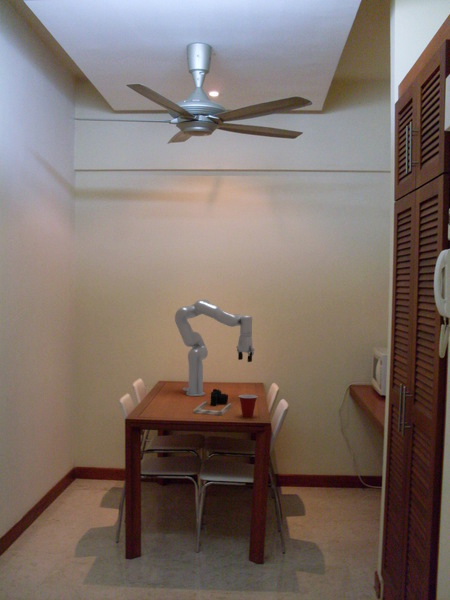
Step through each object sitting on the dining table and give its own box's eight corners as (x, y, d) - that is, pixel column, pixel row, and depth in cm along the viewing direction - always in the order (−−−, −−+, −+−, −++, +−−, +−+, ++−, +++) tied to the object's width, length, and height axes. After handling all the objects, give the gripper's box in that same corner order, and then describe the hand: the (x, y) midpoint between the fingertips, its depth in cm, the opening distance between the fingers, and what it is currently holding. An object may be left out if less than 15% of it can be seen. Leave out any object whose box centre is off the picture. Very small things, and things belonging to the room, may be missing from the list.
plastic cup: (256, 413, 317) (256, 393, 316) (258, 418, 306) (258, 397, 305) (237, 413, 316) (238, 393, 316) (238, 418, 305) (239, 397, 305)
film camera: (224, 407, 332) (224, 392, 331) (209, 406, 334) (209, 391, 333) (229, 401, 347) (229, 387, 346) (214, 400, 348) (214, 386, 348)
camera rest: (193, 413, 316) (193, 409, 316) (204, 404, 337) (204, 401, 337) (221, 415, 311) (221, 412, 311) (231, 406, 333) (231, 403, 333)
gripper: (233, 333, 357) (232, 359, 358) (249, 336, 343) (248, 363, 344) (242, 332, 361) (241, 358, 362) (258, 335, 347) (257, 362, 348)
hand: (244, 360), depth 353 cm, fingers open, 9 cm apart
